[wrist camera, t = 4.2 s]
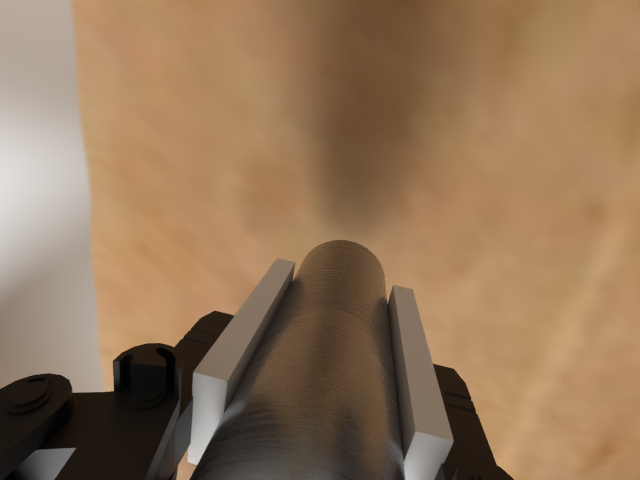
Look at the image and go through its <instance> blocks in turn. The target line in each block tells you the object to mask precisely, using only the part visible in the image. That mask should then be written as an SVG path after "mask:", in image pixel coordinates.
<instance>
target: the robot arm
mask: <svg viewBox="0 0 640 480" xmlns="http://www.w3.org/2000/svg"><path fill="white" fill-rule="evenodd" d="M294 268H295V262H292V261H288V260H283V259H279V258H277V259H276V260H275V262H274V263H273V265H272V266H271V267H270V269H269V270H268V271H267V273H266V274H265V275H264V277H263V278H262V279H261V281H260V282H259V284H258V285H257V286H256V288H255V289H254V290H253V292H252V293H251V294H250V296H249V297H248V298H247V300H246V301H245V303H244V304H243V305H242V307H241V308H240V309H239V311H238V312H237V313H236V315H235V316H234V315H230V314H226V313H222V312H218V311H214V312H212V313H210V314H208V315H206V316H204V317H202V318H200V320H199V321H198V322H197V323H196V324H195V325H194V326H193V327H192V328H191V331H190V330H189V332H188V333H187V334H186V335H185V336H184V338H183V339H181V340H180V341H179V343H178V344H177V345H176V346H175V347H172V346H169V345H165V344H161V343H149V344H144V345H139V346H135V347H133V348H131V349H129V350H127V351H125V352H123V353H121V354H120V355H119V356H118V357H117V358H116V359H115V360H113V375H114V391H111V392H92V393H72V387H71V384H70V381H69V380H68V379H66V378H65V377H63V376H62V375H56V374H49V373H48V374H40V375H33V376H29V377H26V378H23V379H20V380H17V381H15V382H13V383H11V384H9V385H7V386H5V387H3V388H1V389H0V480H176V477H177V469H178V464H179V463H180V461H181V459H182V457H183V456H184V454H185V452H186V450H187V449H188V462H189V463H193V464H196V465H198V463H199V461H200V459H201V457H202V455H203V453H204V451H205V449H206V447H207V445H208V443H209V441H210V439H211V438H212V436H213V434H214V432H215V430H216V428H217V426H218V424H219V422H220V420H221V418H222V416H223V414H224V413H225V411H226V409H227V407H228V405H229V403H230V401H231V399H232V397H233V395H234V393H235V391H236V389H237V387H238V386H239V384H240V382H241V380H242V378H243V376H244V374H245V372H246V370H247V368H248V366H249V364H250V362H251V360H252V359H253V357H254V355H255V353H256V351H257V349H258V347H259V345H260V343H261V341H262V339H263V337H264V335H265V334H266V332H267V330H268V328H269V326H270V324H271V322H272V320H273V318H274V316H275V314H276V312H277V310H278V308H279V307H280V305H281V303H282V301H283V299H284V297H285V295H286V293H287V291H288V289H289V287H290V285H291V283H292V280H293V274H294ZM387 306H388V315H389V325H390V335H391V344H392V354H393V364H394V374H395V383H396V393H397V403H398V413H399V422H400V432H401V442H402V451H403V461H404V471H405V480H514V479H513V478H512V477H511V476H510V475H508V474H507V473H506V472H505V471H504V470H503V469H502V468H501V467H499V466H497V465H496V462H495V459H494V457H493V454H492V451H491V449H490V446H489V444H488V441H487V438H486V436H485V433H484V430H483V428H482V425H481V423H480V420H479V417H478V415H477V414H476V410H475V407H474V404H473V402H472V401H471V396H470V394H469V391H468V389H467V386H466V383H465V382H464V381H463V380H462V378H461V377H460V376H459V375H458V374H457V372H456V371H455V370H454V369H452V368H448V367H444V366H440V365H436V364H433V363H432V359H431V355H430V352H429V348H428V344H427V341H426V337H425V333H424V330H423V326H422V322H421V319H420V315H419V311H418V308H417V304H416V300H415V297H414V293H413V289H409V288H404V287H400V286H396V285H393V287H392V291H391V294H390V298H389V301H388V305H387Z"/></svg>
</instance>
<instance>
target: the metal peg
mask: <svg viewBox="0 0 640 480" xmlns="http://www.w3.org/2000/svg"><path fill="white" fill-rule="evenodd" d="M190 480H405V471H404V461H403V451H402V442H401V432H400V422H399V413H398V403H397V393H396V383H395V374H394V364H393V354H392V344H391V335H390V325H389V315H388V306H387V296H386V286H385V276H384V272H383V268H382V266H381V264H380V262H379V260H378V259H377V258H376V256H375V255H374V254H373V253H372V252H371V251H369V250H368V249H367V248H365V247H364V246H362V245H360V244H357V243H355V242H351V241H346V240H334V241H329V242H325V243H323V244H321V245H319V246H317V247H315V248H314V249H313V250H312V251H310V252H309V253H308V255H307V256H306V257H305V259H304V260H303V262H302V264H301V266H300V268H299V270H298V272H297V274H296V276H295V278H294V280H293V282H292V283H291V285H290V287H289V289H288V291H287V293H286V295H285V297H284V299H283V301H282V303H281V305H280V307H279V308H278V310H277V312H276V314H275V316H274V318H273V320H272V322H271V324H270V326H269V328H268V330H267V332H266V334H265V335H264V337H263V339H262V341H261V343H260V345H259V347H258V349H257V351H256V353H255V355H254V357H253V359H252V360H251V362H250V364H249V366H248V368H247V370H246V372H245V374H244V376H243V378H242V380H241V382H240V384H239V386H238V387H237V389H236V391H235V393H234V395H233V397H232V399H231V401H230V403H229V405H228V407H227V409H226V411H225V413H224V414H223V416H222V418H221V420H220V422H219V424H218V426H217V428H216V430H215V432H214V434H213V436H212V438H211V439H210V441H209V443H208V445H207V447H206V449H205V451H204V453H203V455H202V457H201V459H200V461H199V463H198V465H197V466H196V468H195V470H194V472H193V474H192V476H191V478H190Z"/></svg>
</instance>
